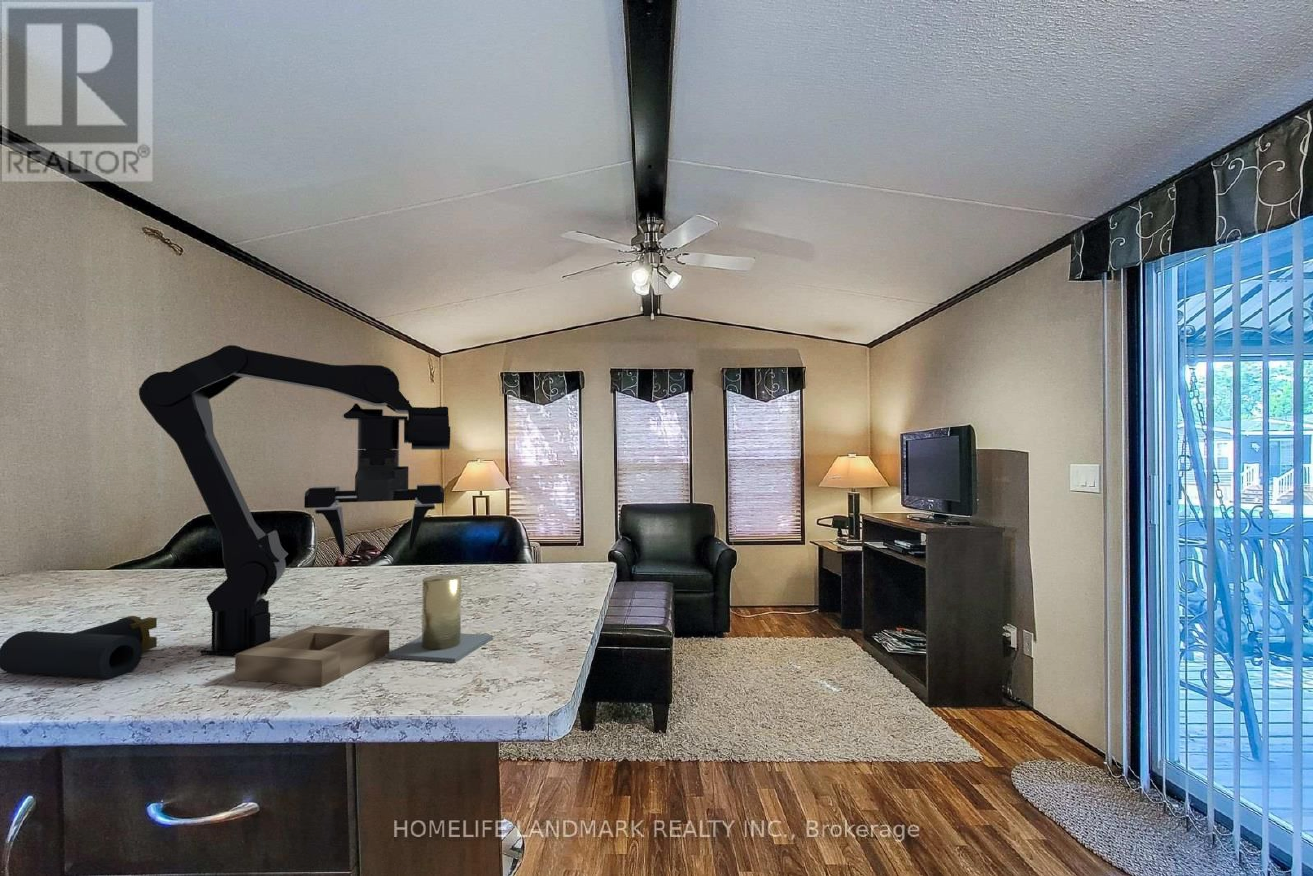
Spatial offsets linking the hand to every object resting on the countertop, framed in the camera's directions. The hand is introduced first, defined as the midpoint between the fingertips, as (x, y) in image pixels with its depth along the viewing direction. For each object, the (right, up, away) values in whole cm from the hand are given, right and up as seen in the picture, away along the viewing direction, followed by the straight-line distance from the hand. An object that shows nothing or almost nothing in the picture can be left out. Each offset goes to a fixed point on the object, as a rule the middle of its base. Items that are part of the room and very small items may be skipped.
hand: (377, 552), depth 89 cm
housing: (-1, -12, -14) cm, 18 cm away
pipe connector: (-30, -12, -13) cm, 35 cm away
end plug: (+13, -11, -8) cm, 19 cm away
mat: (+13, -12, -8) cm, 19 cm away
